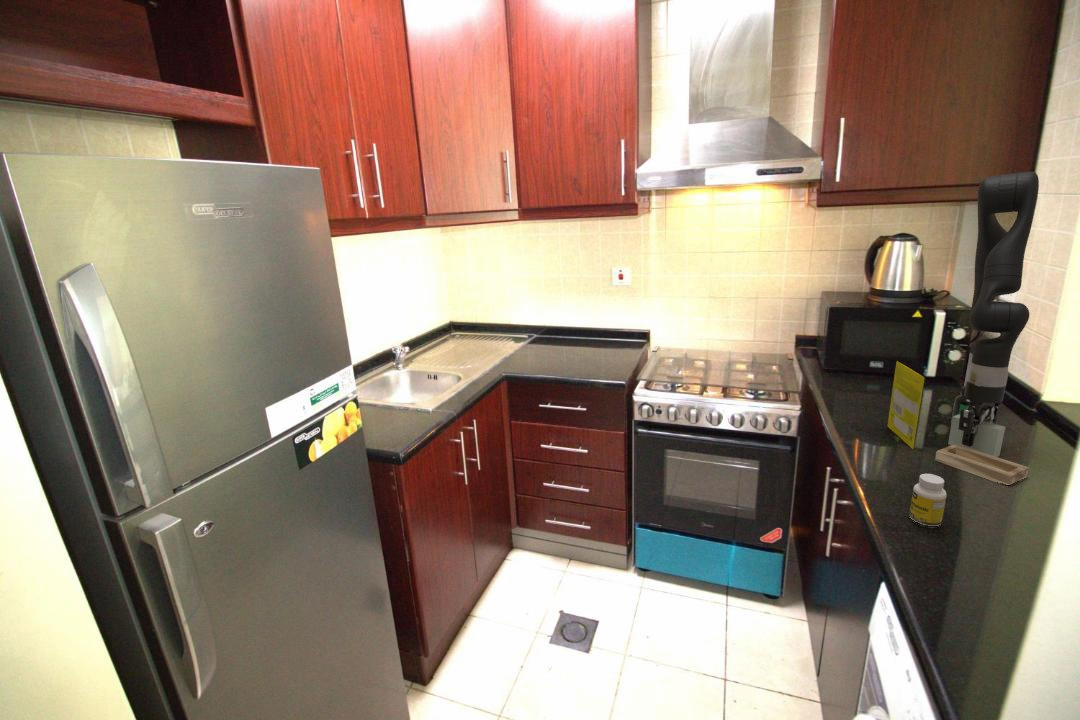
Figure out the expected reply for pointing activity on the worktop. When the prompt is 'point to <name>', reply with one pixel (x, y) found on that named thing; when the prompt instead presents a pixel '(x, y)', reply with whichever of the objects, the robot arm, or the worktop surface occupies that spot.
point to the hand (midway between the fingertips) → (974, 442)
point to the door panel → (979, 437)
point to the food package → (905, 403)
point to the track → (982, 464)
